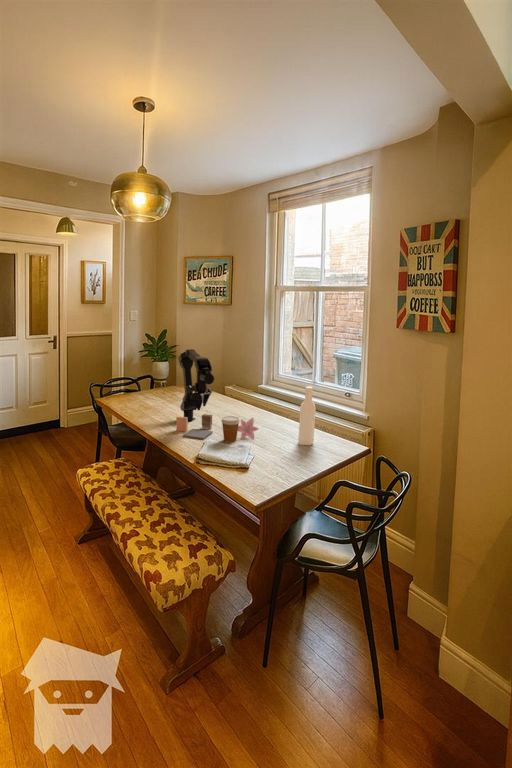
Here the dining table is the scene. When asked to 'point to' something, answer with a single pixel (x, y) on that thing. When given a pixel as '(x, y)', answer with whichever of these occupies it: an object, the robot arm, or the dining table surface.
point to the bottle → (307, 419)
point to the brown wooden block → (206, 421)
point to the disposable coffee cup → (230, 428)
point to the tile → (181, 423)
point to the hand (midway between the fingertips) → (201, 408)
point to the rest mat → (198, 434)
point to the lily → (247, 428)
